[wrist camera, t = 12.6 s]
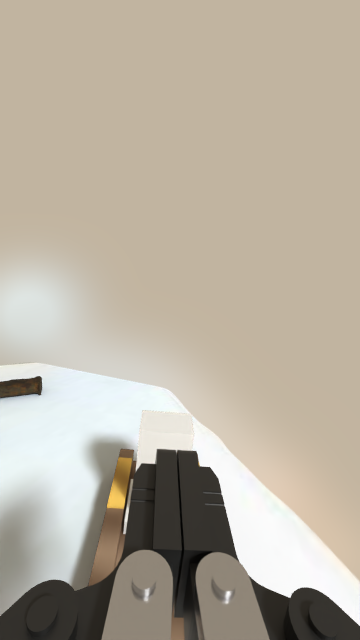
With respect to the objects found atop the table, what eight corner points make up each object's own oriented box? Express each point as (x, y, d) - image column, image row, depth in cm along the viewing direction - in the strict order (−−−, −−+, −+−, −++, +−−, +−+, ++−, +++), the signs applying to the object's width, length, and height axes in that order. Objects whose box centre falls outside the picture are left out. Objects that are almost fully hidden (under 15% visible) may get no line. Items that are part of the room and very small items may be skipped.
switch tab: (187, 536, 31) (201, 441, 29) (123, 534, 31) (131, 436, 28) (183, 493, 37) (195, 409, 34) (130, 490, 37) (137, 405, 34)
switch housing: (226, 731, 20) (235, 693, 19) (60, 733, 19) (62, 694, 18) (194, 475, 43) (197, 452, 42) (119, 470, 42) (120, 447, 41)
